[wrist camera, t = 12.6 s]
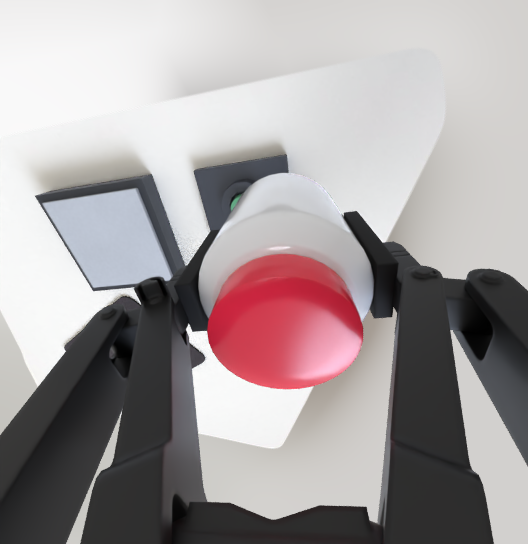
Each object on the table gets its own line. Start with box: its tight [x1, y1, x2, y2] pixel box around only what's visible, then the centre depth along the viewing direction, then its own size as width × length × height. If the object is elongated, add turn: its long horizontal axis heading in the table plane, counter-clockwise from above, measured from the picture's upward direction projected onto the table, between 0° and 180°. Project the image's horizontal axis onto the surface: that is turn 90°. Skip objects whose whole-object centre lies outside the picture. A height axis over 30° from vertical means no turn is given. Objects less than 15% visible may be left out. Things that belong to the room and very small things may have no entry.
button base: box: [194, 155, 288, 231], centre depth 34 cm, size 12×10×3 cm
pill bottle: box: [198, 173, 374, 389], centre depth 14 cm, size 8×8×11 cm
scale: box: [35, 175, 185, 291], centre depth 38 cm, size 16×16×3 cm
